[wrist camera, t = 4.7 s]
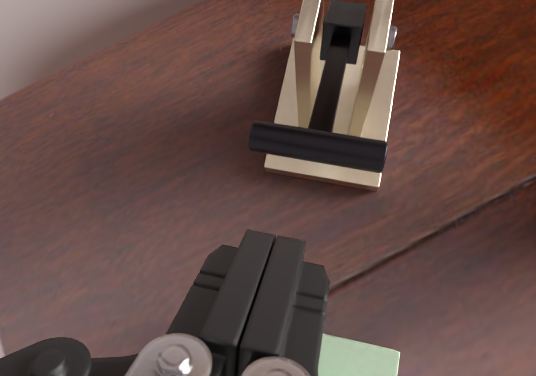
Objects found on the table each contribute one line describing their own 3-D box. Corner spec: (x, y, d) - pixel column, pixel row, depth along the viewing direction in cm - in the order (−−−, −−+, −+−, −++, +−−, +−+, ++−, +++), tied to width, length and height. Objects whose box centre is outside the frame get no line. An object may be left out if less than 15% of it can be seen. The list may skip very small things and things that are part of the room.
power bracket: (377, 191, 35) (414, 123, 22) (264, 171, 36) (243, 96, 24) (397, 58, 38) (440, -66, 26) (293, 44, 39) (287, -81, 27)
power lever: (377, 187, 20) (389, 149, 18) (248, 164, 21) (247, 125, 19) (390, 44, 28) (400, 7, 26) (296, 32, 29) (298, -5, 27)
